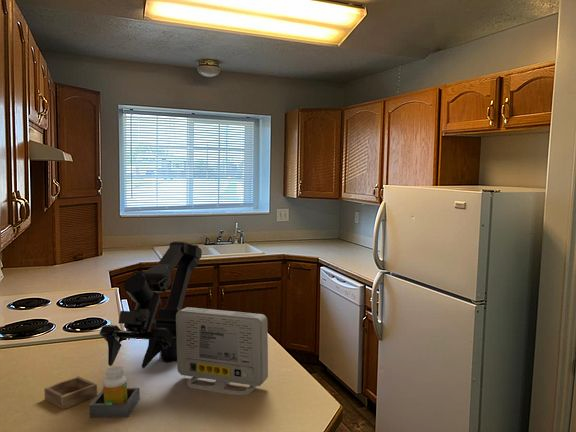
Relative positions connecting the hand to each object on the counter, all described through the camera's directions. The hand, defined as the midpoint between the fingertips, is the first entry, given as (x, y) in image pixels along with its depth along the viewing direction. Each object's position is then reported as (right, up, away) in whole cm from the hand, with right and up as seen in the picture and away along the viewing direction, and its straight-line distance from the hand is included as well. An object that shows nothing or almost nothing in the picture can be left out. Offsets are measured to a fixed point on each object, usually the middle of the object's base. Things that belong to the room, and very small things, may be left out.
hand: (126, 366), depth 119 cm
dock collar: (-1, -9, -5) cm, 10 cm away
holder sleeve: (-15, -8, +1) cm, 17 cm away
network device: (+23, -8, +8) cm, 26 cm away
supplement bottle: (-1, -9, -5) cm, 10 cm away
